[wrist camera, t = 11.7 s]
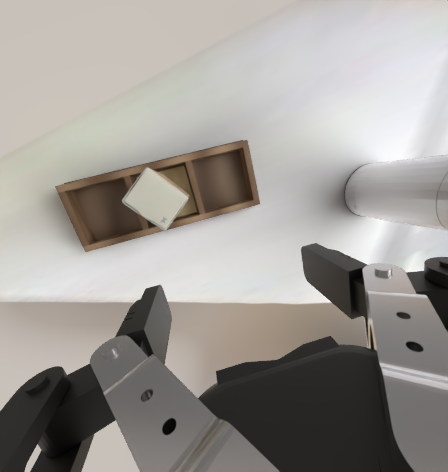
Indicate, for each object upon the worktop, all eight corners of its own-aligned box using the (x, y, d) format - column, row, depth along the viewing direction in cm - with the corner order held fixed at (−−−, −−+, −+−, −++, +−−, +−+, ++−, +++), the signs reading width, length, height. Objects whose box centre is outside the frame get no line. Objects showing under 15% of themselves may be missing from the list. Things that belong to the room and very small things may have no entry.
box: (190, 195, 31) (191, 200, 21) (174, 217, 32) (166, 233, 21) (161, 172, 30) (145, 165, 19) (143, 196, 30) (119, 202, 20)
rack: (241, 141, 32) (247, 136, 28) (254, 204, 34) (261, 206, 31) (67, 183, 29) (52, 183, 26) (96, 248, 32) (85, 255, 29)
